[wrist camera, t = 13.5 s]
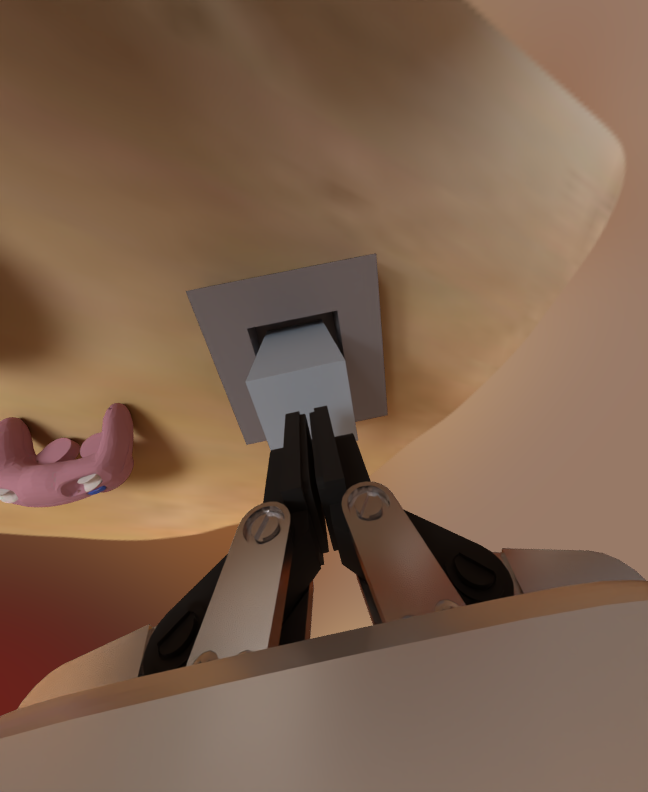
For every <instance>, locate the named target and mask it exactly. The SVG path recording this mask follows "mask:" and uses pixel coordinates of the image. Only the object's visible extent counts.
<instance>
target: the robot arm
mask: <svg viewBox="0 0 648 792" xmlns="http://www.w3.org/2000/svg"><path fill="white" fill-rule="evenodd" d="M309 416H310V426H311V435H310V431H309V427H308V422H307V418H306V415H305V414H300V412H299V411H297V412H293V413H288V414H286V415H285V428H284V443H283V448H278V449H274V450H271V452H270V458H269V465H268V472H267V479H266V487H265V494H264V501H263V503H262V504H260V505H258V506H256V507H254V508H253V509H251V510H250V511H249V512H248V513H247V514H246V515H245V516H244V517H243V518H242V520H241V522H240V524H239V526H238V529H237V531H236V534H235V537H234V539H233V542H232V545H231V547H230V550H229V553H228V554H227V555H226V556H225V557H224V558H223V559H222V560H221V561H220V562H219V563H218V564H217V565H216V566H215V567H214V568H213V569H212V570H211V571H210V572H209V573H208V574H207V575H206V576H205V577H204V578H203V579H202V580H201V581H200V582H199V583H198V584H197V585H196V586H195V587H194V588H193V589H191V590H190V591H189V592H188V593H187V595H185V596H184V598H182V599H181V601H179V602H178V603H177V604H176V605H175V606H174V607H173V608H172V609H171V610H170V611H169V612H168V613H167V614H166V615H165V617H164V618H163V619H162V620H161V621H160V623H159V624H158V625H157V626H156V627H152V626H151V625H150V624H149V625H147V626H145V627H143V628H141V629H139V630H136V631H134V632H132V633H130V634H128V635H126V636H124V637H121V638H119V639H117V640H115V641H113V642H111V643H109V644H106V645H104V646H102V647H100V648H98V649H96V650H94V651H91V652H89V653H87V654H85V655H83V656H81V657H79V658H77V659H74V660H72V661H70V662H68V663H66V664H64V665H62V666H60V667H59V668H57V669H56V670H54V671H52V672H51V673H50V674H48V675H47V676H46V677H45V678H44V679H43V680H42V681H41V682H39V684H38V685H36V686H35V687H34V688H33V690H32V691H31V692H30V693H29V694H28V696H27V697H26V698H25V699H24V701H23V702H22V703H21V704H20V706H19V708H18V709H17V710H15V711H13V712H10V713H8V714H5V715H3V716H0V792H648V581H646V580H645V579H644V578H643V577H642V576H641V575H640V574H639V573H638V572H637V571H635V570H634V569H632V568H631V567H630V566H628V565H627V564H625V563H623V562H622V561H620V560H618V559H616V558H614V557H611V556H609V555H606V554H604V553H599V552H594V551H582V550H545V549H510V548H503V549H502V552H500V553H499V552H491V551H489V550H488V549H486V548H484V547H483V546H481V545H479V544H477V543H475V542H472V541H470V540H468V539H466V538H464V537H462V536H459V535H457V534H455V533H453V532H451V531H449V530H446V529H444V528H442V527H440V526H438V525H436V524H434V523H431V522H429V521H427V520H425V519H423V518H421V517H418V516H416V515H414V514H412V513H410V512H408V511H405V510H403V509H402V507H401V505H400V504H399V502H398V501H397V499H396V498H395V496H394V495H393V493H392V492H391V491H390V490H389V489H388V488H387V487H385V486H384V485H382V484H379V483H376V482H371V481H370V478H369V475H368V473H367V470H366V467H365V464H364V462H363V459H362V456H361V453H360V451H359V448H358V445H357V442H356V439H355V437H354V434H353V433H350V434H346V435H341V436H336V437H334V433H333V428H332V424H331V420H330V416H329V412H328V408H327V405H326V406H322V407H317V408H314V412H310V413H309ZM311 436H312V439H311ZM325 519H326V523H327V527H328V531H329V535H330V538H331V542H332V546H333V549H334V551H336V550H339V554H340V558H341V562H342V564H343V565H344V566H346V567H347V568H348V569H350V570H351V571H353V572H354V573H355V574H356V576H357V580H358V583H359V586H360V589H361V592H362V594H363V598H364V600H365V603H366V606H367V609H368V612H369V615H370V618H371V621H372V623H373V626H368V627H363V628H359V629H354V630H350V631H345V632H340V633H336V634H331V635H327V636H322V637H318V638H313V639H310V635H311V621H312V607H313V592H314V584H313V579H314V578H315V576H316V574H317V573H318V572H319V570H320V569H321V565H324V559H323V553H327V552H329V549H328V540H327V532H326V523H325Z"/></svg>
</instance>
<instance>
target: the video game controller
mask: <svg viewBox="0 0 648 792" xmlns="http://www.w3.org/2000/svg"><path fill="white" fill-rule="evenodd" d="M132 450H133V422H132V418H131V415H130V412H129V410H128V409H127V407H126V406H125V405H123V404H120V403H115V404H112V405H111V406H110V407H109V408H108V409H107V411H106V413H105V416H104V418H103V426H102V432H101V433H96V434H94V435H92V436H90V437H89V438H87V439H86V440H85V441H84V443H83V444H82V446H81V449H80V445H79V444H78V443H76V442H74V441H72V440H70V439H68V438H60V439H56V440H54V441H53V442H51V443H50V444H48V445H47V446H46V447H45V448H44V449H43V450H42V451H41V452H40V453H39V454H38V455H36V454H35V451H34V448H33V442H32V437H31V434H30V432H29V429H28V427H27V425H26V424H25V423H24V422H23V421H22V420H21V419H19V418H14V417H11V418H6V419H4V420H2V421H0V500H1V501H3V502H6V503H13V504H17V505H22V506H27V507H50V506H57V505H62V504H67V503H71V502H74V501H78V500H81V499H84V498H86V497H89V496H91V495H94V494H97V493H100V492H108V491H111V490H113V489H115V488H117V487H118V486H120V485H121V484H122V483H123V482H124V481H125V480H126V479H127V478H128V477H129V475H130V473H131V471H132V469H133V465H134V460H133V457H132ZM79 452H80V454H81V456H82V458H80V459H75V458H76V457H77V456H78V454H79Z"/></svg>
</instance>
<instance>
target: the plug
mask: <svg viewBox="0 0 648 792" xmlns="http://www.w3.org/2000/svg"><path fill="white" fill-rule="evenodd" d="M246 385H247V388H248V390H249V393H250V396H251V399H252V401H253V404H254V407H255V409H256V412H257V415H258V417H259V420H260V423H261V426H262V428H263V431H264V434H265V436H266V439H267V442H268V444H269V447H270V450H274V449H278V448H283V443H284V428H285V415H286V414H288V413H293V412H297V411H299V412H300V414H305V415H306V418H307V422H308V427H309V431H310V435H311V426H310V416H309V413H310V412H314V408H317V407H322V406H326V405H327V408H328V412H329V416H330V420H331V424H332V428H333V433H334V437H336V436H341V435H346V434H350V433H353V434H354V437H355V439H356V441H357V440H358V437H357V430H356V424H355V418H354V412H353V406H352V400H351V394H350V388H349V381H348V375H347V369H346V363H345V359H344V357H343V355H342V354H341V352H340V350H339V349H338V347H337V345H336V343H335V342H334V340H333V338H332V336H331V335H330V333H329V331H328V330H327V328H326V326H325V324H324V323H323V321H322V319H321V320H317V321H312V322H308V323H303V324H299V325H294V326H290V327H285V328H281V329H276V330H272V331H267V332H266V334H265V337H264V339H263V341H262V344H261V346H260V349H259V351H258V353H257V356H256V358H255V360H254V363H253V365H252V367H251V370H250V372H249V375H248V377H247V379H246ZM311 439H312V436H311Z"/></svg>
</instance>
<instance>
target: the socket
mask: <svg viewBox="0 0 648 792" xmlns="http://www.w3.org/2000/svg"><path fill="white" fill-rule="evenodd" d="M186 293H187V296H188V298H189V301H190V303H191V306H192V308H193V311H194V313H195V316H196V318H197V321H198V323H199V326H200V328H201V331H202V333H203V336H204V338H205V341H206V343H207V346H208V349H209V351H210V354H211V356H212V359H213V361H214V364H215V366H216V369H217V371H218V374H219V376H220V379H221V381H222V384H223V386H224V389H225V391H226V394H227V396H228V399H229V401H230V404H231V407H232V409H233V412H234V414H235V417H236V419H237V422H238V424H239V427H240V429H241V432H242V434H243V437H244V439H245V442H246V444H247V445H248V444H252V443H257V442H262V441H267V439H266V436H265V434H264V431H263V428H262V426H261V423H260V420H259V417H258V415H257V412H256V409H255V407H254V404H253V401H252V399H251V396H250V393H249V390H248V388H247V385H246V379H247V377H248V375H249V372H250V370H251V367H252V365H253V363H254V360H255V358H256V356H257V353H258V351H259V349H260V346H261V344H262V341H263V339H264V337H265V334H266V332H267V331H272V330H276V329H281V328H285V327H290V326H294V325H299V324H303V323H308V322H312V321H317V320H321V319H322V321H323V323H324V324H325V326H326V328H327V330H328V331H329V333H330V335H331V336H332V338H333V340H334V342H335V343H336V345H337V347H338V349H339V350H340V352H341V354H342V355H343V357H344V359H345V363H346V369H347V375H348V381H349V388H350V394H351V400H352V406H353V412H354V418H355V422H357V421H362V420H366V419H371V418H376V417H381V416H385V415H388V413H387V399H386V385H385V371H384V357H383V343H382V329H381V314H380V300H379V286H378V272H377V258H376V254H370V255H365V256H360V257H355V258H350V259H345V260H340V261H335V262H330V263H325V264H320V265H315V266H310V267H305V268H300V269H295V270H290V271H285V272H280V273H275V274H270V275H265V276H260V277H254V278H249V279H244V280H239V281H234V282H229V283H224V284H219V285H214V286H209V287H204V288H199V289H194V290H189V291H186Z"/></svg>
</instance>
